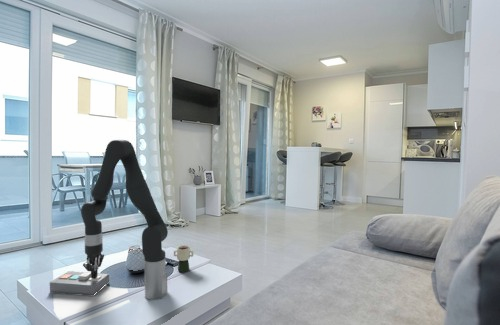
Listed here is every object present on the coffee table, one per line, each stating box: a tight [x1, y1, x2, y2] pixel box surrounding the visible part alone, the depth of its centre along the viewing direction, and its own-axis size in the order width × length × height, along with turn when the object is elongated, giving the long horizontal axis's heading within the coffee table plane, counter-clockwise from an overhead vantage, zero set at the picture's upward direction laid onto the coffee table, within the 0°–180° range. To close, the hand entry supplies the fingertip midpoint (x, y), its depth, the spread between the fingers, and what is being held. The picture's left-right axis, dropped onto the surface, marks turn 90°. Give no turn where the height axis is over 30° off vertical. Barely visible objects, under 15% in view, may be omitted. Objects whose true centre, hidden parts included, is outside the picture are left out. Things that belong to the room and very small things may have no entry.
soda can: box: [127, 245, 142, 254], centre depth 164 cm, size 7×7×12 cm
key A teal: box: [69, 275, 80, 280], centre depth 141 cm, size 4×4×4 cm
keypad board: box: [49, 271, 110, 296], centre depth 141 cm, size 22×12×5 cm, turn 83°
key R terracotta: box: [59, 273, 73, 280], centre depth 142 cm, size 4×4×4 cm
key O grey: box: [79, 272, 91, 281], centre depth 141 cm, size 4×4×4 cm
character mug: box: [173, 245, 194, 273], centre depth 162 cm, size 11×7×13 cm, turn 90°
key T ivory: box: [88, 276, 101, 282], centre depth 140 cm, size 4×4×4 cm
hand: (94, 277), depth 140 cm, fingers closed
